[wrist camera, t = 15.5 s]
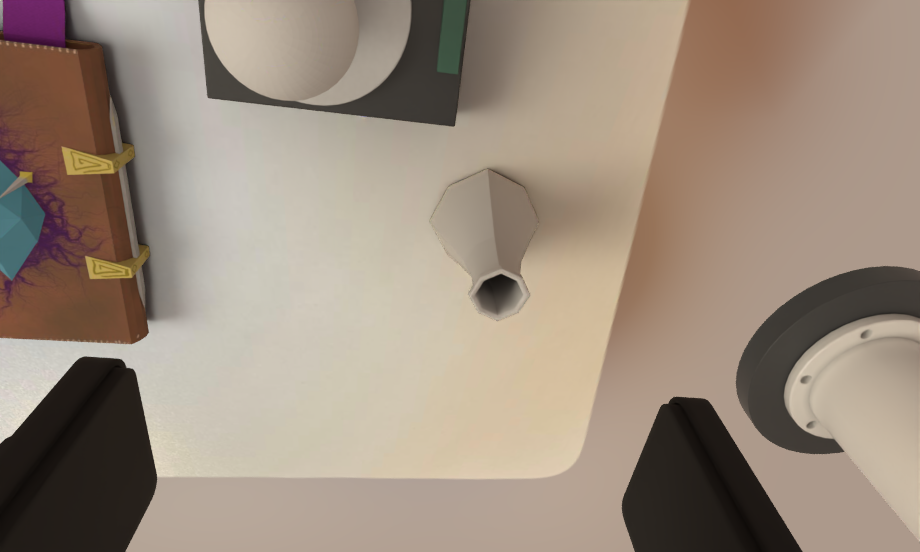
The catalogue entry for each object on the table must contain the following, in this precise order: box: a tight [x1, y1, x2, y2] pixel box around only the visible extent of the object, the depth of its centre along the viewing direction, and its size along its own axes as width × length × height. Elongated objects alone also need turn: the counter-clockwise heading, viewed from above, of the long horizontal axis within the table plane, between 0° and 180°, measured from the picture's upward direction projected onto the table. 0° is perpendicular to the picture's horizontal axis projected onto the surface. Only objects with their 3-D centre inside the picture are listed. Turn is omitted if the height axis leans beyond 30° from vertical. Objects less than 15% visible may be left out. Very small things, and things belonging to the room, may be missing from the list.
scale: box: [198, 0, 470, 126], centre depth 30 cm, size 14×11×4 cm
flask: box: [430, 169, 539, 321], centre depth 35 cm, size 7×7×10 cm
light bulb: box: [204, 0, 359, 101], centre depth 24 cm, size 6×6×10 cm
